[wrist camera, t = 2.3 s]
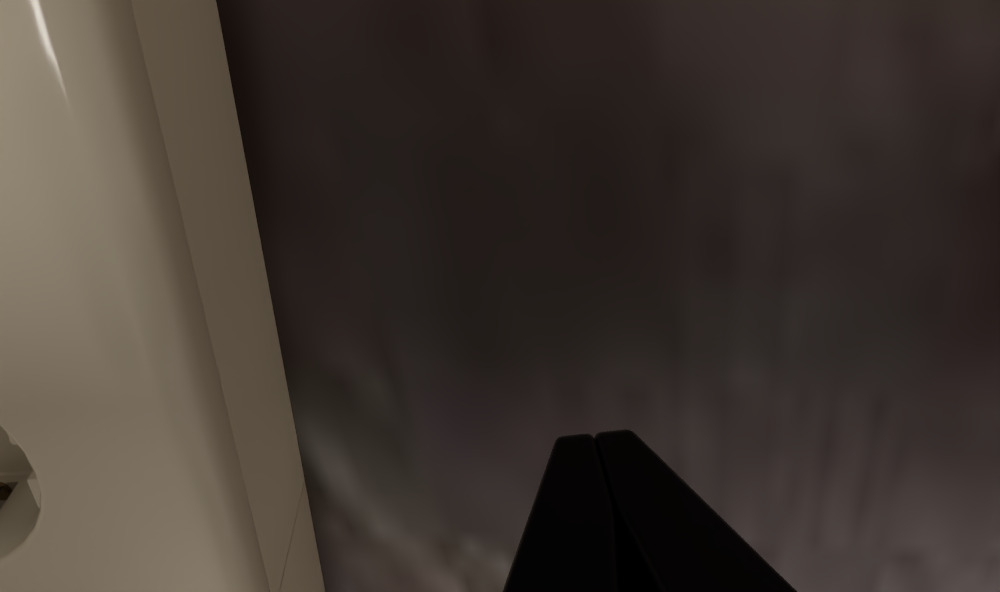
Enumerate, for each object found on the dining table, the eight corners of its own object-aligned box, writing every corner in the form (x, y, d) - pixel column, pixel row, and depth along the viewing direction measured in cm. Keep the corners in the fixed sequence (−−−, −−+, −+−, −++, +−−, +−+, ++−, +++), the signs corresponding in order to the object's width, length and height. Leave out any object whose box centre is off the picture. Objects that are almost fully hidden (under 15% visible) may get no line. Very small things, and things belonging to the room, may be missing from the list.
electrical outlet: (-74, 938, 14) (-1107, -303, 5) (29, 720, 18) (-483, -250, 9) (326, 910, 15) (5, -313, 6) (350, 701, 18) (178, -259, 9)
